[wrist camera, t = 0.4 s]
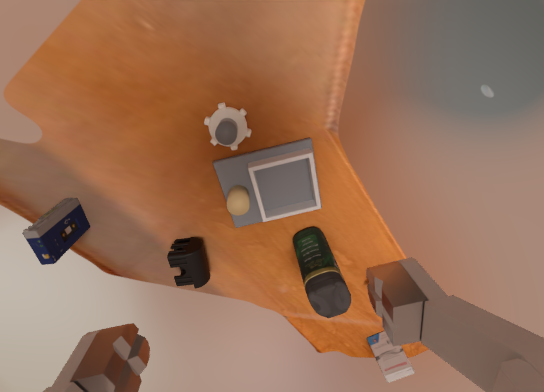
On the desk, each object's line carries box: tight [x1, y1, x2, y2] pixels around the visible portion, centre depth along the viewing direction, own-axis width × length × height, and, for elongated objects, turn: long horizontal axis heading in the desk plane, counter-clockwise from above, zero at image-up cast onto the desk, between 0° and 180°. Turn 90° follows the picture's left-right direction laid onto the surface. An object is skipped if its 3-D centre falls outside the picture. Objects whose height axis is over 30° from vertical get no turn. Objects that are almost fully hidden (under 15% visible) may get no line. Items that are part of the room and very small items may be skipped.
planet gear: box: [204, 102, 251, 150], centre depth 45 cm, size 9×8×7 cm
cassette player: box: [23, 198, 90, 265], centre depth 49 cm, size 7×2×12 cm, turn 3°
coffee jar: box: [293, 227, 351, 318], centre depth 55 cm, size 10×8×19 cm
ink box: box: [367, 331, 415, 383], centre depth 78 cm, size 8×5×12 cm, turn 118°
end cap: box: [167, 238, 210, 288], centre depth 58 cm, size 10×7×7 cm
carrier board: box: [213, 138, 322, 228], centre depth 52 cm, size 16×20×6 cm
